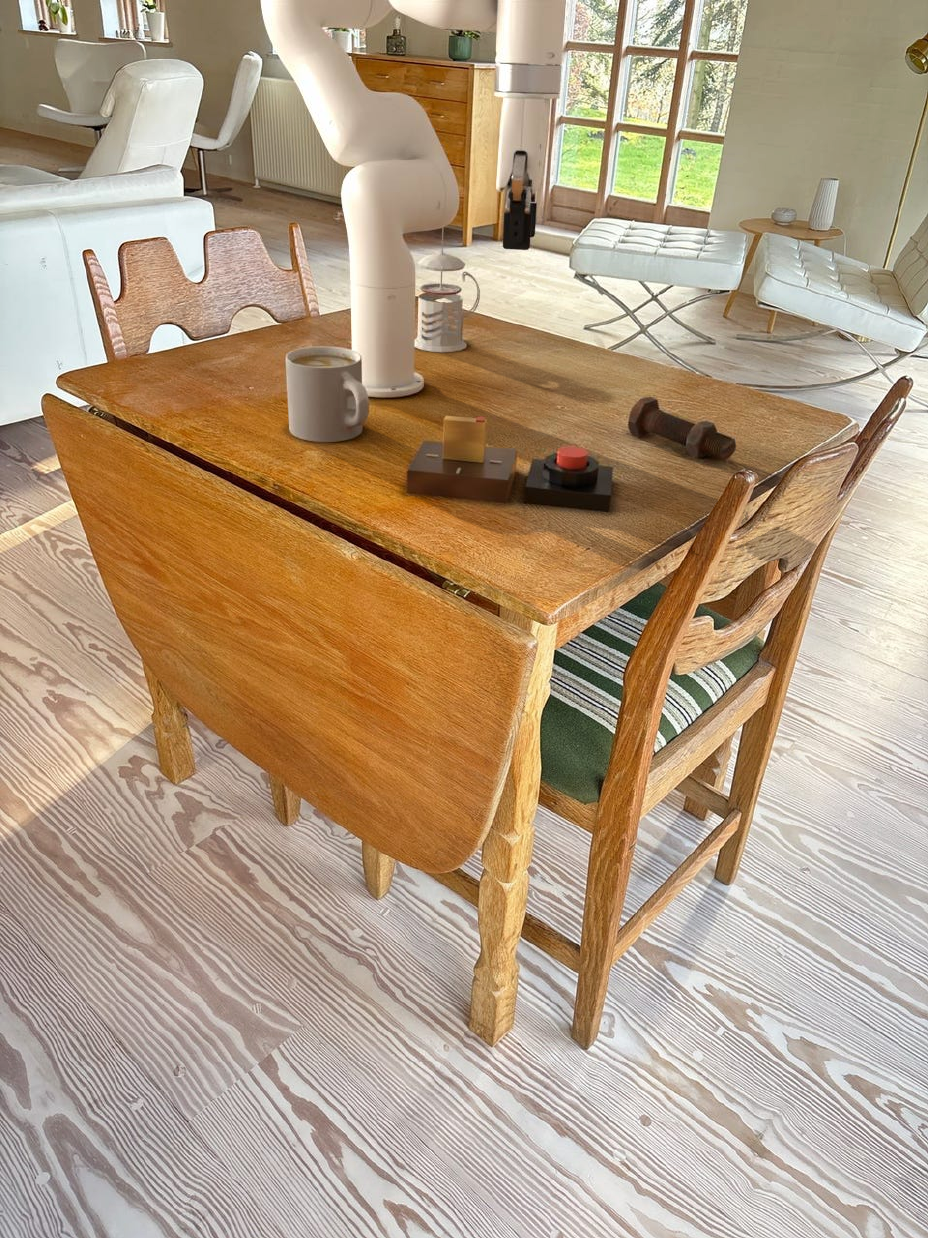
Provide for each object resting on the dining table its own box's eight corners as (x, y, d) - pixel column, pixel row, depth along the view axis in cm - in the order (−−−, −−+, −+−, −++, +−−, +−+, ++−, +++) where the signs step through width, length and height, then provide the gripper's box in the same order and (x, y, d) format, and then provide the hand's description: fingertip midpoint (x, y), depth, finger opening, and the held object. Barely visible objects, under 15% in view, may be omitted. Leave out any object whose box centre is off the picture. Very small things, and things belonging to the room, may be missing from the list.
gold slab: (442, 458, 116) (443, 417, 113) (444, 454, 117) (445, 413, 114) (483, 463, 115) (485, 421, 112) (485, 458, 116) (487, 417, 113)
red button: (555, 469, 113) (556, 455, 112) (557, 458, 116) (558, 444, 115) (585, 472, 112) (587, 458, 111) (587, 461, 115) (588, 447, 114)
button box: (523, 503, 113) (526, 472, 111) (531, 474, 120) (533, 444, 118) (608, 512, 112) (612, 480, 109) (610, 482, 119) (614, 452, 117)
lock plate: (406, 493, 114) (406, 468, 112) (422, 462, 122) (423, 438, 121) (506, 503, 112) (508, 478, 111) (515, 471, 121) (517, 448, 119)
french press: (409, 336, 173) (412, 186, 160) (473, 337, 175) (480, 188, 162) (413, 351, 165) (416, 194, 152) (480, 352, 166) (488, 197, 153)
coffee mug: (277, 423, 132) (273, 351, 127) (342, 412, 137) (340, 342, 132) (320, 455, 123) (317, 379, 118) (387, 443, 128) (388, 369, 122)
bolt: (721, 478, 126) (631, 441, 135) (743, 453, 128) (653, 418, 137) (716, 447, 122) (624, 411, 131) (739, 421, 123) (647, 388, 132)
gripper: (501, 81, 117) (495, 230, 125) (486, 83, 102) (481, 252, 110) (563, 83, 116) (553, 233, 125) (557, 85, 101) (546, 255, 110)
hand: (519, 242), depth 118 cm, fingers open, 9 cm apart
